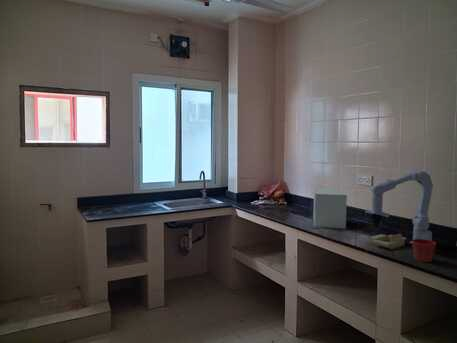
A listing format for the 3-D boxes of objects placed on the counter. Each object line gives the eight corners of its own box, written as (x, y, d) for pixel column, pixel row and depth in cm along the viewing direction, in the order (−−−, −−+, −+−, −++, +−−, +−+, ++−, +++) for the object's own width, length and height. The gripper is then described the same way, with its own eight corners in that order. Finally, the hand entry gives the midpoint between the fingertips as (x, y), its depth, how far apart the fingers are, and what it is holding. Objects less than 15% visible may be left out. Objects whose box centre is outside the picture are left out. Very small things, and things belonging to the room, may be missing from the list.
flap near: (403, 239, 202) (403, 239, 201) (392, 243, 195) (392, 243, 194) (400, 233, 203) (400, 233, 203) (389, 236, 196) (389, 236, 196)
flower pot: (409, 255, 184) (409, 237, 183) (431, 257, 181) (432, 239, 180) (413, 261, 174) (414, 243, 173) (437, 264, 171) (438, 245, 170)
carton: (407, 244, 204) (408, 238, 204) (387, 250, 192) (388, 244, 191) (390, 239, 213) (390, 234, 213) (370, 245, 201) (370, 240, 200)
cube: (313, 219, 270) (314, 189, 268) (341, 221, 265) (342, 190, 263) (314, 227, 245) (315, 193, 243) (345, 229, 241) (346, 194, 239)
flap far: (380, 234, 213) (380, 234, 213) (369, 237, 206) (369, 237, 206) (386, 235, 210) (386, 236, 210) (375, 238, 203) (375, 239, 203)
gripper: (362, 203, 211) (361, 225, 212) (384, 207, 199) (383, 229, 201) (369, 202, 215) (368, 223, 216) (391, 206, 203) (390, 228, 205)
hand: (376, 226), depth 209 cm, fingers closed
